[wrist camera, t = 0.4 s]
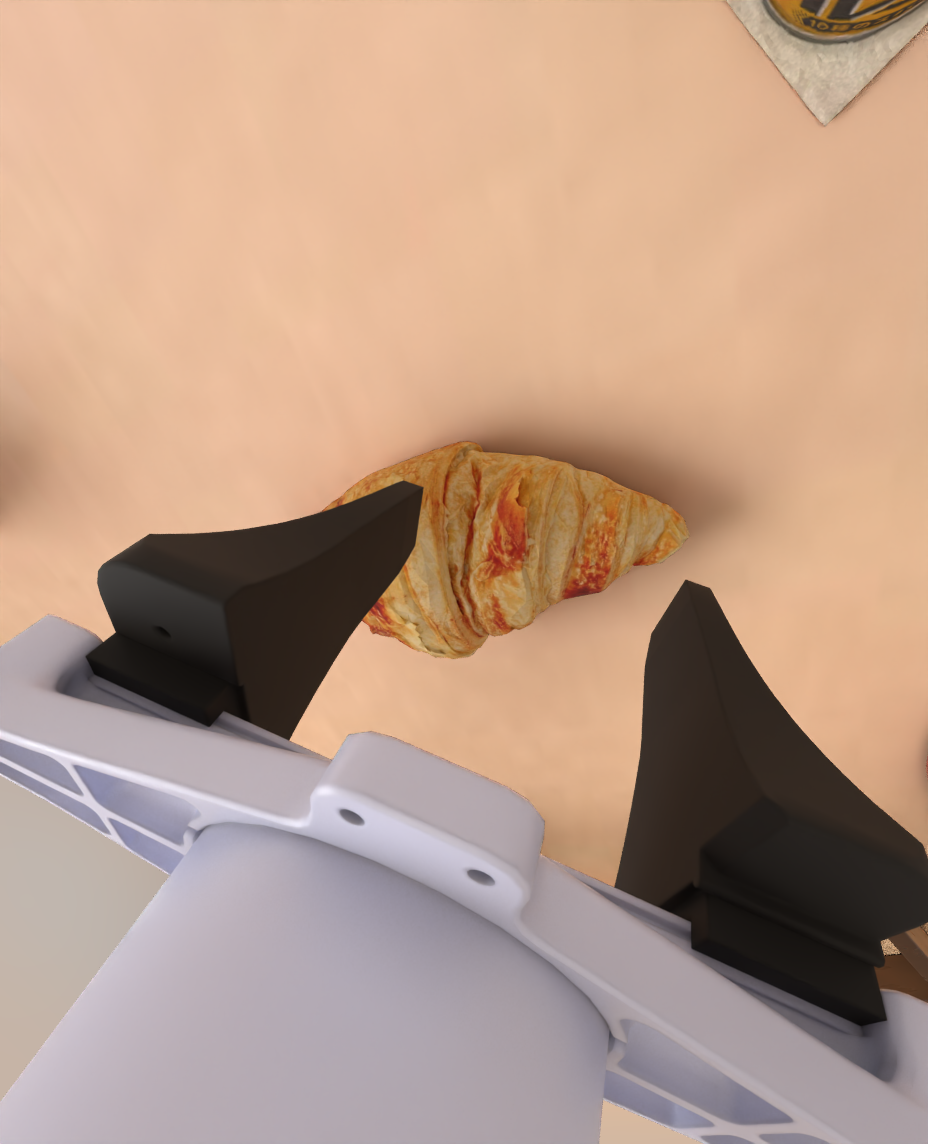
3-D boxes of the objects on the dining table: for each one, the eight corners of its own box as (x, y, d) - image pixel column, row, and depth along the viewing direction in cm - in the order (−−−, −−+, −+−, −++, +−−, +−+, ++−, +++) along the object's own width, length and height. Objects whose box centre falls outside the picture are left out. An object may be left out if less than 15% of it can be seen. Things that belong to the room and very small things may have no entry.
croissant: (673, 429, 24) (681, 361, 16) (696, 642, 23) (714, 672, 16) (307, 496, 31) (197, 471, 24) (318, 658, 31) (210, 684, 23)
